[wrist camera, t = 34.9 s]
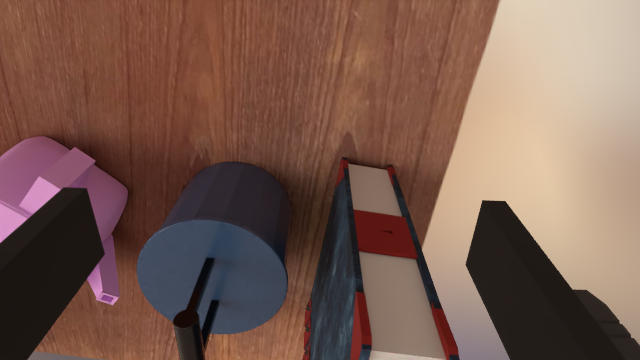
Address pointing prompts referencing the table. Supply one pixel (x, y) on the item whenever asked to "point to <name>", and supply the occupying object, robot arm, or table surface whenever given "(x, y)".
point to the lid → (211, 279)
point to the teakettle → (48, 179)
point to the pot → (238, 201)
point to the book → (373, 279)
